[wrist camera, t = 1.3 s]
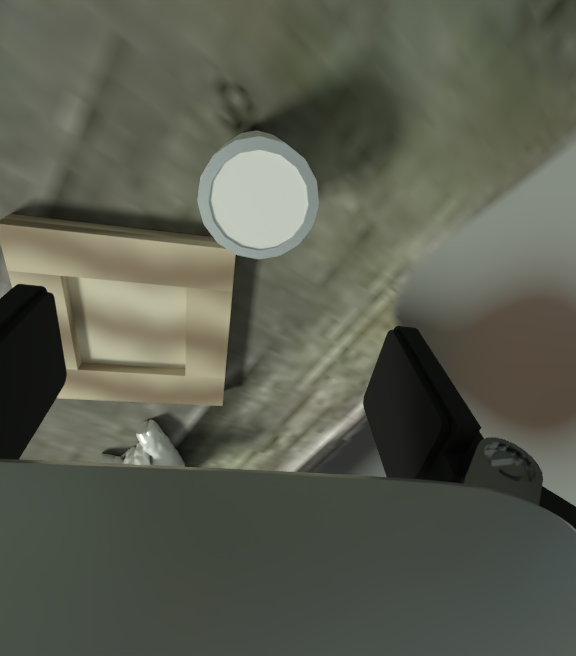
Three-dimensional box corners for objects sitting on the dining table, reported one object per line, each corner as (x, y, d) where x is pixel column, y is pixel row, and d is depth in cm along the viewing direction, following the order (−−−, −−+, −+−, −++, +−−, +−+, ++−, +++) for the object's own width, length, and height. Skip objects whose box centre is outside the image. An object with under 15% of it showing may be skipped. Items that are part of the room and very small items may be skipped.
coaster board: (10, 213, 28) (-5, 223, 26) (236, 239, 30) (236, 249, 29) (50, 382, 36) (41, 397, 35) (223, 391, 39) (222, 405, 37)
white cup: (323, 176, 28) (343, 206, 22) (255, 239, 30) (258, 281, 25) (257, 95, 25) (260, 104, 19) (186, 171, 27) (170, 201, 21)
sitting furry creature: (150, 413, 40) (118, 528, 30) (212, 450, 44) (202, 563, 34) (94, 456, 43) (48, 575, 33) (157, 488, 47) (133, 601, 37)
